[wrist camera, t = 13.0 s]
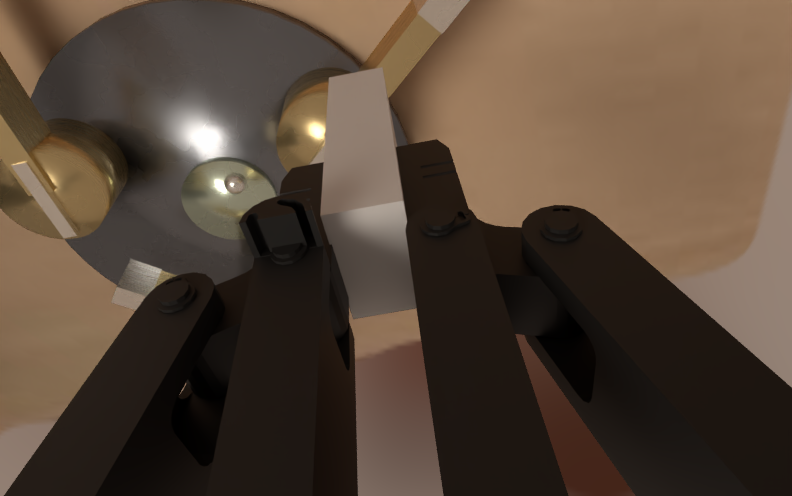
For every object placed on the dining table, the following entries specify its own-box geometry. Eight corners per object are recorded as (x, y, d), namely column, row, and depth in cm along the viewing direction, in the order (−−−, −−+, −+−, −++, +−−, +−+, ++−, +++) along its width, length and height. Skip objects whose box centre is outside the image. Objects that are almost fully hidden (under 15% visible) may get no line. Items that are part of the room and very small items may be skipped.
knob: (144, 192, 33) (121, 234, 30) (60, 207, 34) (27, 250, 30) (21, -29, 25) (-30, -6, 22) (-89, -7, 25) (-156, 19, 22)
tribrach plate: (144, 336, 43) (135, 359, 41) (-63, 42, 28) (-92, 57, 26) (432, 287, 42) (436, 309, 40) (377, -46, 27) (380, -36, 25)
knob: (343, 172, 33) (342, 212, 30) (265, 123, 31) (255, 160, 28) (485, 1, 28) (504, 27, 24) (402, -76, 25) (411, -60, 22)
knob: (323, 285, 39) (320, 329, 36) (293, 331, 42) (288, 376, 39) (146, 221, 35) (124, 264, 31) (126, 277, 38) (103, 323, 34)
